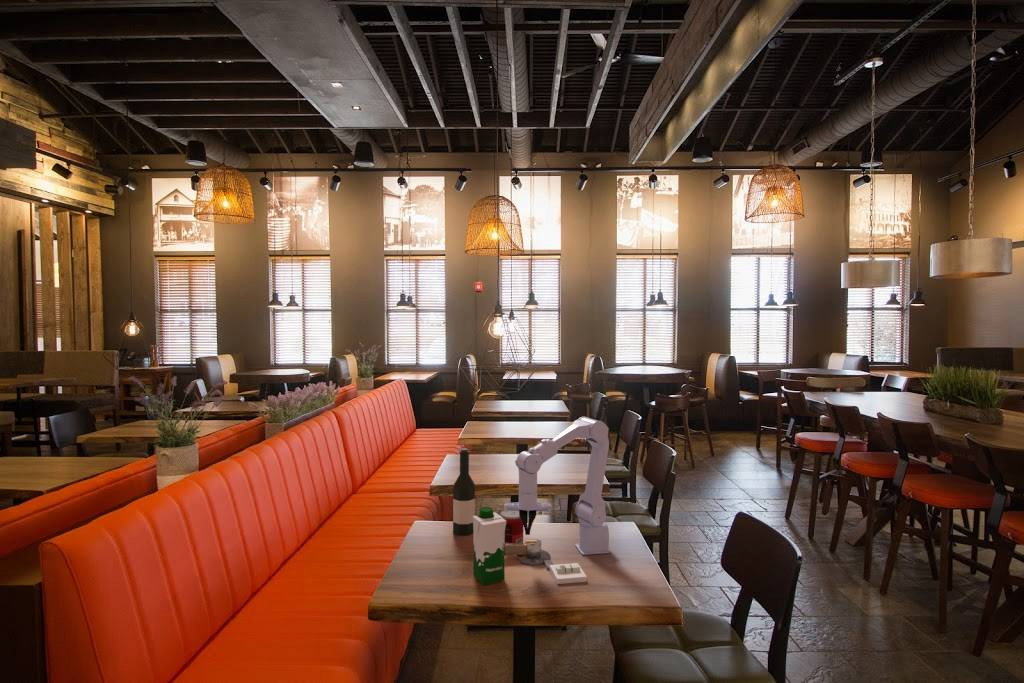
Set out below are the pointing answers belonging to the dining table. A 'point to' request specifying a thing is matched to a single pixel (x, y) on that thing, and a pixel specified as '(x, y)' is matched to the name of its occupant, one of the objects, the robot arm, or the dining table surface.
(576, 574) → the stand board
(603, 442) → the robot arm
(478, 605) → the dining table surface
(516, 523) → the canned food
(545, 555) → the dial base
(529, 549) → the round-headed metal tool
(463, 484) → the wine bottle
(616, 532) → the dining table surface
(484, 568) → the milk carton
